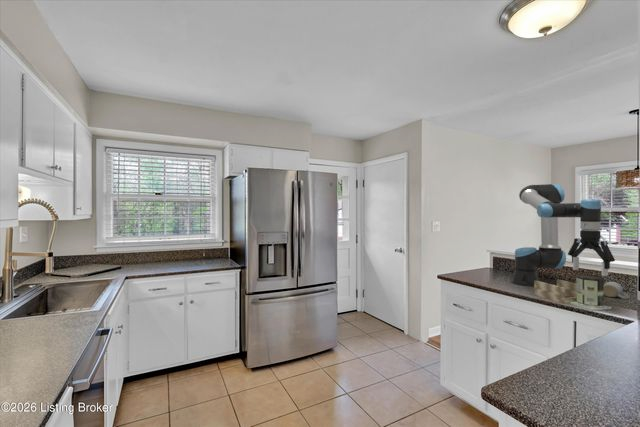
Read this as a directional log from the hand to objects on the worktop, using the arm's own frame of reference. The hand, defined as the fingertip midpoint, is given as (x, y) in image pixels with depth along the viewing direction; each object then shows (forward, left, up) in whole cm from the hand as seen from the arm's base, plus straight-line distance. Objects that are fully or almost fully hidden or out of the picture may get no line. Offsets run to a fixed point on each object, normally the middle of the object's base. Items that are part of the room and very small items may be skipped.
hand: (589, 272), depth 150 cm
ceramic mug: (-10, +30, -17) cm, 36 cm away
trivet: (0, 0, -17) cm, 17 cm away
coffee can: (0, 0, -16) cm, 16 cm away
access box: (-14, -1, -17) cm, 22 cm away
